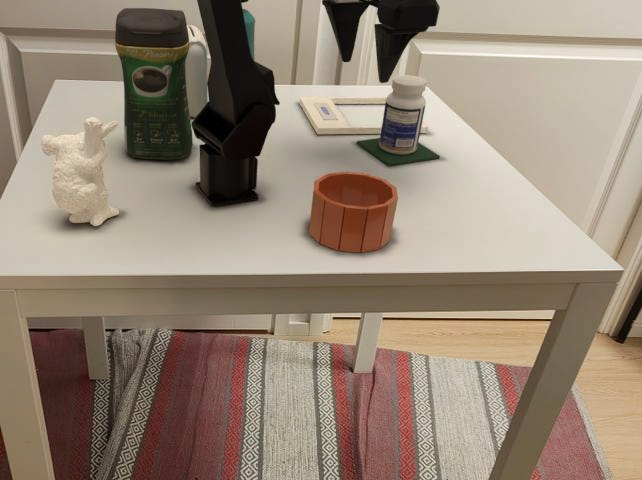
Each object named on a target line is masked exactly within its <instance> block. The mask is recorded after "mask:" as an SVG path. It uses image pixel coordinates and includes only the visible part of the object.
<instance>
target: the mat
mask: <svg viewBox="0 0 642 480" xmlns="http://www.w3.org/2000/svg"><path fill="white" fill-rule="evenodd" d="M379 141H380V137H378V138H377V137H376V138H369V139H363V140H357V141H356V145H358V146H359V147H361V148H362V149H363V150H365V151H366V152H367V153H369V154H371V155H372V156H374V157H375V158H376V159H378V160H379V161H380V162H382V163H383V164H385V165H386V166H388V167H392V166H393V167H394V166H400V165H406V164H414V163H419V162H425V161H431V160H439V159H441V156H440V155H439V154H438V153H436V152H434V151H433V150H431V149H429V148H428V147H426V146H425V145H423V144H422V143H420V142H418V146H417V149H416V151H415V152H413V153H411V154H406V155H397V154H391V153H388V152H386V151H384V150H382V149H381V148H380V146H379Z"/></svg>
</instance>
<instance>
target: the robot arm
mask: <svg viewBox="0 0 642 480" xmlns="http://www.w3.org/2000/svg"><path fill="white" fill-rule="evenodd" d="M196 2H197V6H198V10H199V14H200V19H201V24H202V27H203V32H204V36H205V41H206V45H207V50H208V52H209V53H208V54H209V57H210V65H209V72H208V76H207V87H208V103H207V104H206V105H205V106H204V108H203V109H202V110H201V112H200V113H199V114H198V115H197V117H194V118H193V120H192V122H191V129H192V131H193V134H194V137H195V138H196V139H197V140H200V141H201V142H202V143H203V144H199V181H197V182H195V184H194V185H195V188H196V189H197V190H198V192H199V193H200V194H201V195H202V196H203V198H204V199H205V200H206V201H207V203H209V205H210V206H212V207H219V206H225V205H233V204H238V203H243V202H249V201H257V200H258V199H259V194H258V192H256V189H257V185H258V165H259V159H258V157H260V156H261V154H262V150H263V148H264V146H265V143H266V139H267V137H268V133H269V131H270V129H271V127H272V126H273V124H275V123H276V119H277V108H276V107H277V106H280V105H281V102H280V101H279V99H278V97H277V94H276V86H275V83H276V81H275V79H276V78H275V74H274V71H273V69H270V68H268V67H267V66H265V65H263V64H261V63H259V62H257V61H256V60H253V58H252V55H251V50H250V45H249V40H248V35H247V29H246V24H245V19H244V14H243V9H244V8H243V5H242V4H243V3H241V0H196ZM321 4H322V6H324V9H325V11H326V14H327V17H328V20H329V23H330V25H331V29H332V32H333V35H334V38H335V41H336V44H337V48H338V51H339V54H340V58H341V61H342V62H343V63H350V62H351V61H352V57H353V53H354V50H355V46H356V41H357V36H358V31H359V25H360V20H361V17H362V16H363V15H364V13H365V12H366V11H367V9H368V8H369V7H370V6H371V7H374V8H376V15H377V19H378V23H375V24H374V25H373V26H374V27H373V28H374V38H375V39H374V41H375V54H376V65H377V67H376V68H377V76H378V82H379V83H381V84H387V83H388V82H389V81H390V79H391V77H392V75H393V73H394V71H395V70H396V67H397V65H398V63H399V61H400V59H401V58H402V55H403V53H404V52H405V50H406V48H407V47H408V45H409V43H410V42H411V41H412V39H414V38H415V37H416V36H417V35H419V34H420V33H426V32H427V31H428V29H429V28H431V27H432V28H433V27H436V26H437V24H438V20H439V15H440V9H441V7H440V5H439V3H438V1H437V0H321Z"/></svg>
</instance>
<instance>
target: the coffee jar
mask: <svg viewBox="0 0 642 480" xmlns="http://www.w3.org/2000/svg"><path fill="white" fill-rule="evenodd" d="M187 23H188V22H187V18H186V14H185V12H184V11H183V10H180V9H166V8H165V9H164V8H154V7H153V8H152V7H150V8H149V7H138V8H137V7H124V8H122V10H120V11H119V12H118V14H117V15H116V19H115V34H114V36H115V38H114V46H115V50H116V53H117V55H118V58H119V60H120V64H121V71H122V77H123V78H122V79H123V103H124V104H123V105H124V106H123V107H124V108H123V109H124V110H123V111H124V112H123V113H124V115H123V116H124V117H123V122H124V123H123V125H124V126H123V133H124V137H123V138H124V148H125V152H126V153H127V154H128V155H130V156H131V157H133V158H136V159H147V160H148V159H149V160H179V159H182V158H184V157H186V156H188V155H189V154H190V153H191V152H192V149H193V144H194V143H193V132H192V131H193V128H192V125H191V124H192V122H191V121H192V120H191V117H190V114H189V107H188V99H187V91H186V77H185V60H186V57H187V54H188V51H189V35H188V29H187V26H188V24H187Z"/></svg>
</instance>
